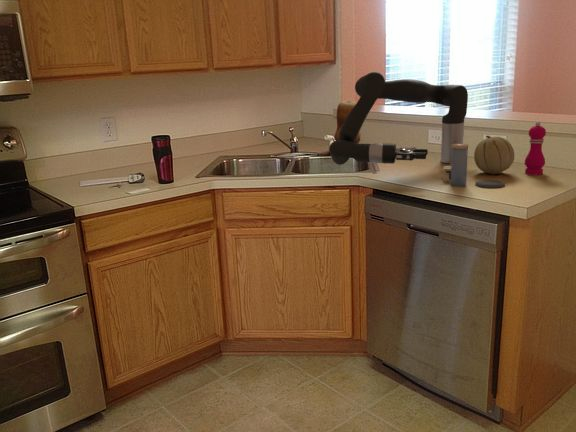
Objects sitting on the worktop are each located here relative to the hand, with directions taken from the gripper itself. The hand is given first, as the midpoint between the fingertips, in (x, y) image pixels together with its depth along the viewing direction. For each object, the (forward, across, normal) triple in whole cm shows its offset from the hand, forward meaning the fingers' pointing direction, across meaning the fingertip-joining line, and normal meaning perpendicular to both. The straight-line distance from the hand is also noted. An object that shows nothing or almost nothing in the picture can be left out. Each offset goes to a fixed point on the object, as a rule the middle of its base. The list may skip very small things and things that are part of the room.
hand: (426, 154), depth 196 cm
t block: (+9, +8, +11) cm, 17 cm away
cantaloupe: (+24, +21, +11) cm, 34 cm away
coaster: (+23, +1, +11) cm, 25 cm away
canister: (+12, 0, +11) cm, 16 cm away
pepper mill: (+40, +22, +11) cm, 47 cm away
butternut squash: (-45, +77, +11) cm, 90 cm away
